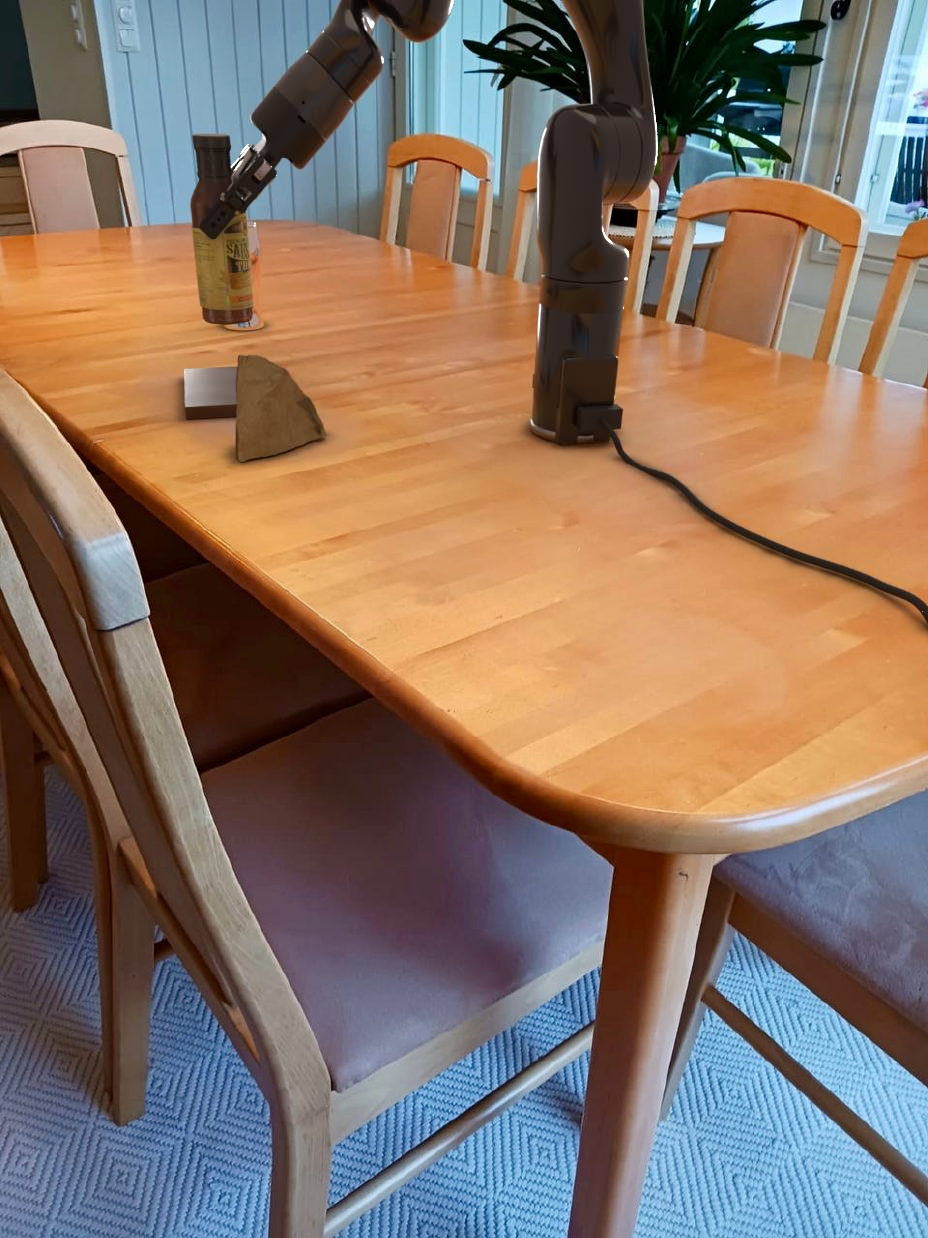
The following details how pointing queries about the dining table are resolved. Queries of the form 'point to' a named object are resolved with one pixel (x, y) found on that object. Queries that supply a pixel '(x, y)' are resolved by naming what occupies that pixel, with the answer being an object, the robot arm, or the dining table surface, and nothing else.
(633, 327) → the dining table surface
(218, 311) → the sauce bottle
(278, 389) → the rock
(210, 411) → the metal block
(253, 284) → the beer glass
